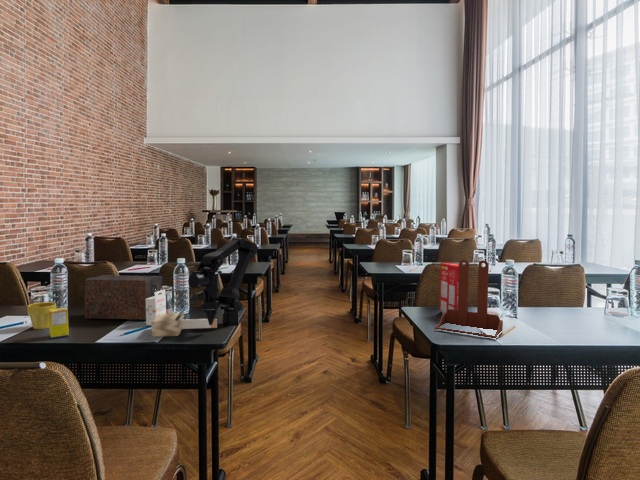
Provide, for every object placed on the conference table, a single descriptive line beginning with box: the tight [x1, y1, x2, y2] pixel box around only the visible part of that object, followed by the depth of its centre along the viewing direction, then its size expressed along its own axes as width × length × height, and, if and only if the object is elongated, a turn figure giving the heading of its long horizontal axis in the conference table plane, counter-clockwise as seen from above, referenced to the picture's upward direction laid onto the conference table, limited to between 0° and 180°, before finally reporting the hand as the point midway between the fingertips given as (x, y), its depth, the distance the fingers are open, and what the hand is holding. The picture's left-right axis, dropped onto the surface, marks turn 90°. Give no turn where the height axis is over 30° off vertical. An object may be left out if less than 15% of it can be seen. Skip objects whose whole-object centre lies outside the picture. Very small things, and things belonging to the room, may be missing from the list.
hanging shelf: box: [434, 258, 504, 338], centre depth 179 cm, size 24×13×30 cm, turn 56°
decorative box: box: [84, 274, 163, 321], centre depth 202 cm, size 31×20×20 cm
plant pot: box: [26, 301, 57, 330], centre depth 183 cm, size 10×10×10 cm
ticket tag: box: [181, 317, 218, 330], centre depth 179 cm, size 16×1×4 cm, turn 99°
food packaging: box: [439, 262, 459, 313], centre depth 209 cm, size 15×5×25 cm, turn 13°
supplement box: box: [48, 306, 70, 340], centre depth 169 cm, size 6×6×11 cm
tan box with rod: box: [151, 310, 185, 338], centre depth 178 cm, size 10×14×7 cm
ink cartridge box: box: [145, 288, 167, 326], centre depth 191 cm, size 9×5×15 cm, turn 168°
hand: (211, 322), depth 180 cm, fingers open, 9 cm apart
